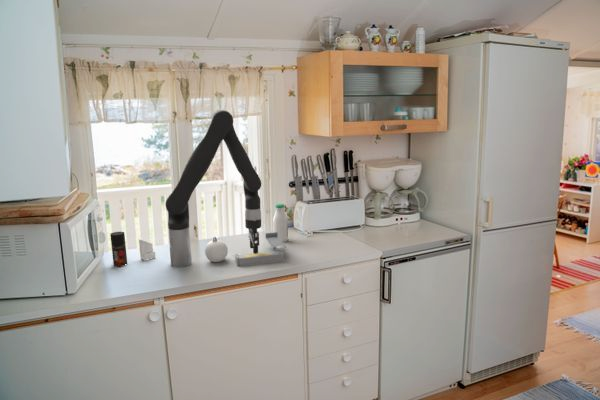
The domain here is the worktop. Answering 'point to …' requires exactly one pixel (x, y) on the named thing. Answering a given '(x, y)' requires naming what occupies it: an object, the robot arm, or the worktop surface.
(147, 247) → the white wedge bracket
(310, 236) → the worktop surface
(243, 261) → the grey tray
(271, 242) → the cover
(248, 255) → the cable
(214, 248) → the ornament
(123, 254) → the deodorant
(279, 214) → the milk bottle
